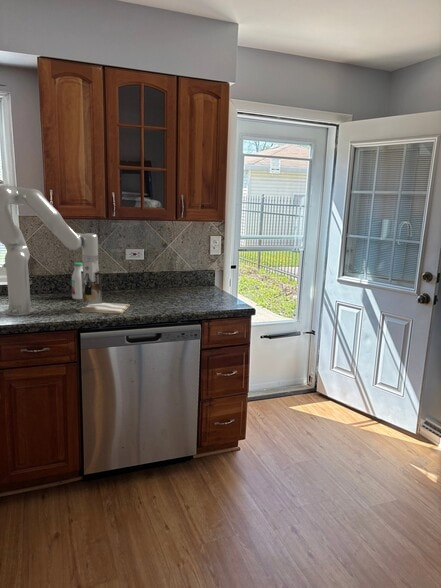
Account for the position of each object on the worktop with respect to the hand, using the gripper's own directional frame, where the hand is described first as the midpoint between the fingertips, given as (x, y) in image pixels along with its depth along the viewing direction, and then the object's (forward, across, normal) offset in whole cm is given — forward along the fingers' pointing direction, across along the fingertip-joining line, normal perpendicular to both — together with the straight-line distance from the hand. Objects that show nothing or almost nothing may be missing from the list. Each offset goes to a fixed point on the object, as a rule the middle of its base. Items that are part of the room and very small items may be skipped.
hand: (91, 292), depth 213 cm
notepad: (+9, +4, -6) cm, 12 cm away
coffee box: (+6, 0, 0) cm, 6 cm away
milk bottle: (+9, +22, +15) cm, 28 cm away
